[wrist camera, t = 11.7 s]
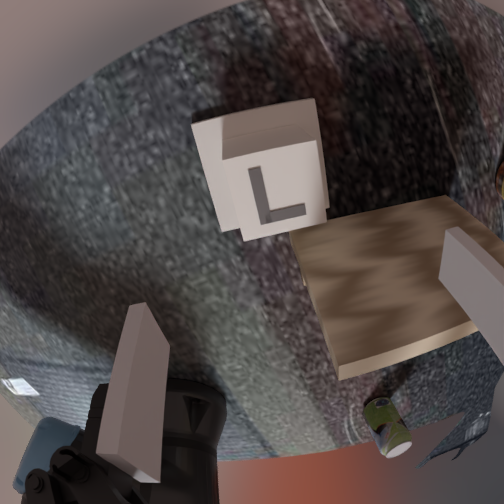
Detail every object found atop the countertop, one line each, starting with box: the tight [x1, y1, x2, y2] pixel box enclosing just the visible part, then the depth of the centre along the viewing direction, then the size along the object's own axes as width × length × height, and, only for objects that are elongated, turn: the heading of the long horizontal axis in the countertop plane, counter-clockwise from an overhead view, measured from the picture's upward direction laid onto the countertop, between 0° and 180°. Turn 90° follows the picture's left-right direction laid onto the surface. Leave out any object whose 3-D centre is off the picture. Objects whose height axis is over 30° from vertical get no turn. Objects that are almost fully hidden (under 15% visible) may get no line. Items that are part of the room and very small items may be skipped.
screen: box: [289, 195, 504, 381], centre depth 25 cm, size 18×6×16 cm, turn 102°
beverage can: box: [362, 397, 412, 458], centre depth 46 cm, size 6×7×12 cm
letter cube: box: [222, 124, 327, 241], centre depth 23 cm, size 6×6×6 cm
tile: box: [191, 98, 330, 232], centre depth 26 cm, size 10×10×1 cm
